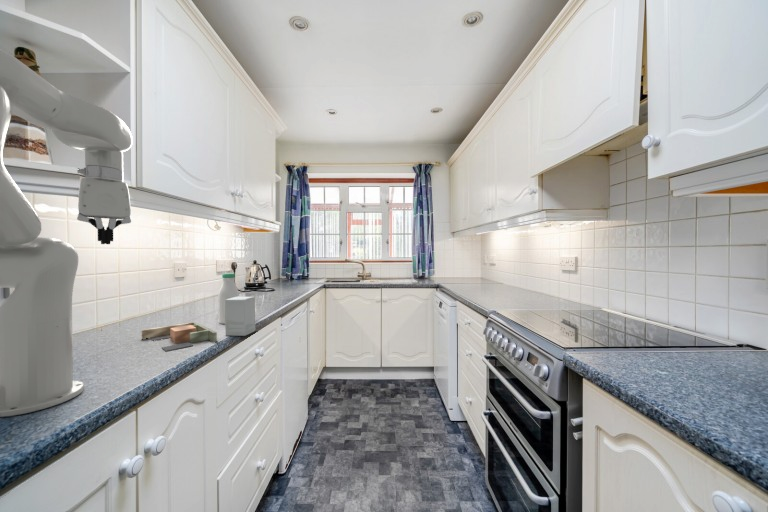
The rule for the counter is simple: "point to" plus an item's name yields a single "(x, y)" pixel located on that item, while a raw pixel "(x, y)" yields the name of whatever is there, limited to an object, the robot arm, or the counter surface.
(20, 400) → the robot arm
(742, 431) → the counter surface
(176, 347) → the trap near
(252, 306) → the supplement box
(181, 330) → the block
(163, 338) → the plate
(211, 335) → the green-grey pronged frame
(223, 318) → the milk bottle
